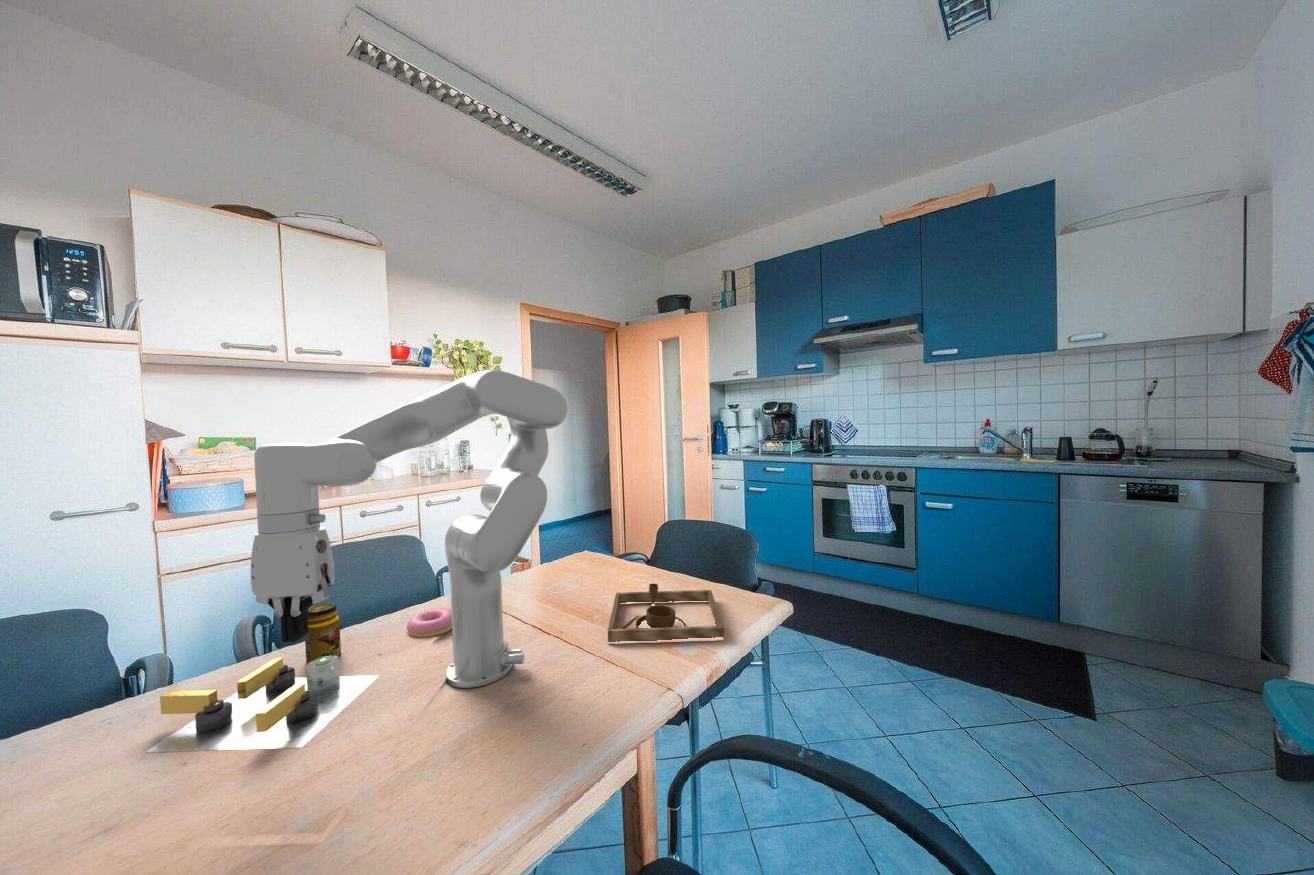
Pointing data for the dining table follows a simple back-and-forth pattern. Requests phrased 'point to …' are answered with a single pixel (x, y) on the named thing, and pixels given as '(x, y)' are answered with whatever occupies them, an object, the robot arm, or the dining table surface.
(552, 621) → the dining table surface
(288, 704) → the knob
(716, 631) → the brown rectangular frame
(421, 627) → the doughnut
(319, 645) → the condiment
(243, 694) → the knob
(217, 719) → the knob
